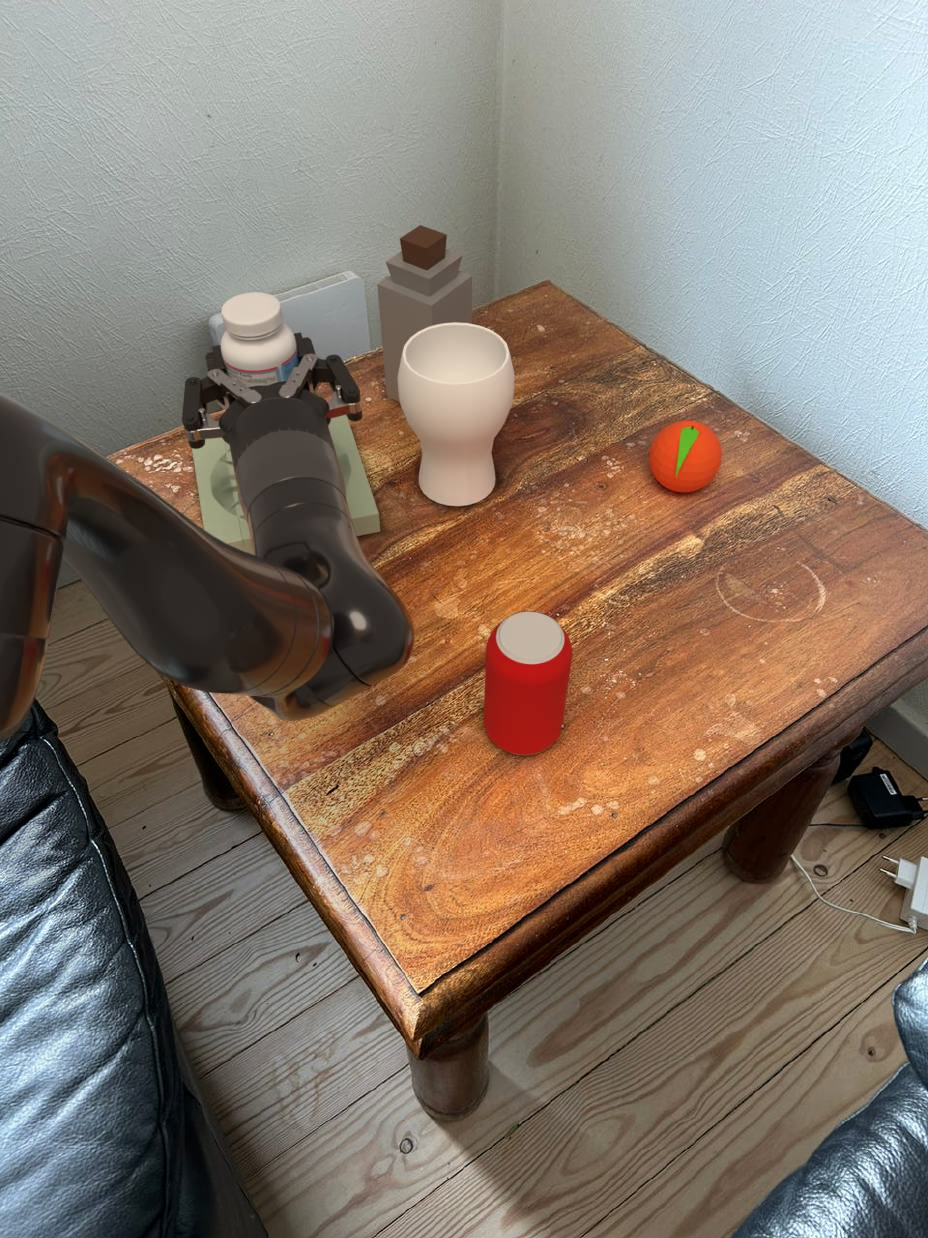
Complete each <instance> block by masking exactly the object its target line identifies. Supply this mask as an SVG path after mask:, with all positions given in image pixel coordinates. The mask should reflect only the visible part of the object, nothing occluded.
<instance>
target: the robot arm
mask: <svg viewBox="0 0 928 1238" xmlns="http://www.w3.org/2000/svg"><path fill="white" fill-rule="evenodd" d="M293 334H294V336H295V340H296V345H297V351H298V357H299V362H300V364H299V366H298V367H294V368H293V370H292V372H291V374H290V376H289V378H288V379H287V381H282V382H277V383H273V384H270V385H264V386H252V387H247V386H246V385H245V384H243V383H242V382H241V381H240V380H238V379H237V378H236V377H232V378H230V377H229V376H228V375H227V373H226V369H225V365H224V361H223V357H222V352H221V344H216V345H212V346H211V347H212V351H211V352H207V353H206V355H205V362H206V368H207V375H206V377H204V378H202V379H201V378H200V377H198V376H191V377H188V378H187V379H186V380H185V382H184V392H183V403H182V413H181V414H182V415H181V422H182V425H183V429H184V432H185V436H186V439H187V442H188V445H189V448H191V449H192V448H193V449H199V448H202V447H203V446H204V445H205V439H212V438H223V440H224V441H225V442H226V443H228V444H229V445H230V451H231V456H232V462H233V467H234V473H235V477H236V483H237V489H238V498H239V500H240V504H241V508H242V511H243V513H244V516H245V518H246V521H247V524H248V529H249V534H250V540H251V545H252V550H253V554H250V553H247V552H245V551H242V550H239V549H237V548H235V547H233V546H231V545H229V544H227V543H225V542H223V541H222V540H220V539H218V538H216V537H214V536H213V535H211V534H210V533H208V532H207V531H205V530H204V528H202V527H201V526H200V525H198V523H196V522H194V521H193V520H191V518H189V517H188V516H187V515H185V514H184V513H182V512H181V511H180V510H179V509H177V508H176V507H174V505H172V503H170V502H169V501H167V499H165V498H163V497H162V496H161V495H160V494H158V493H157V492H156V491H154V490H153V489H152V488H150V487H149V486H148V485H146V484H145V483H143V482H142V481H141V480H139V479H138V478H137V477H135V476H133V475H132V474H130V472H127V471H126V470H124V469H123V468H121V467H120V466H119V465H117V464H116V463H115V462H113V461H112V460H111V459H109V458H108V457H107V456H105V455H104V454H103V453H101V452H100V451H98V450H97V449H95V448H94V447H93V446H91V445H90V444H88V442H86V441H84V440H83V439H81V438H80V437H79V436H77V435H76V434H74V433H73V432H71V431H70V430H69V429H67V428H65V427H64V426H62V425H61V424H59V423H58V422H56V421H55V420H53V419H52V418H50V417H49V416H47V415H45V414H43V413H42V412H40V411H39V410H37V409H35V408H33V407H32V406H30V405H28V404H27V403H24V402H22V401H21V400H19V399H17V398H15V397H13V396H11V395H8V394H6V393H4V392H2V391H0V745H1V744H3V743H5V742H6V741H7V740H9V739H10V738H11V737H12V736H14V735H15V734H16V732H18V731H19V729H20V728H21V727H22V725H23V724H24V722H25V721H26V719H27V718H28V715H29V713H30V711H31V708H32V706H33V703H34V701H35V699H36V695H37V692H38V689H39V686H40V682H41V679H42V675H43V672H44V667H45V663H46V658H47V654H48V653H47V652H48V647H49V643H50V642H49V639H50V634H51V629H52V622H53V617H54V612H55V611H54V610H55V605H56V599H57V592H58V587H59V580H60V575H61V574H60V573H61V568H62V562H64V563H65V564H66V565H67V566H68V567H69V568H70V569H71V571H72V572H73V573H75V575H76V576H77V577H78V578H79V579H80V580H81V582H82V583H83V584H84V586H85V588H87V590H88V591H89V592H90V593H91V595H92V596H93V598H94V599H95V600H96V601H97V603H98V605H99V606H100V607H101V609H102V610H103V612H104V614H105V615H106V616H107V618H108V619H109V620H110V622H111V623H112V624H113V626H114V627H115V629H116V630H117V631H118V633H119V634H120V635H121V636H122V638H123V639H124V641H126V643H127V644H128V645H129V647H130V648H131V649H132V650H133V651H134V652H135V653H136V654H137V656H138V657H139V658H140V659H142V660H143V661H144V662H145V663H146V664H147V665H148V666H150V667H151V668H152V669H153V670H155V671H156V673H159V674H160V675H161V676H163V677H165V678H166V679H168V680H170V681H172V682H174V683H176V684H178V685H181V686H183V687H184V688H188V689H192V690H196V691H200V692H205V693H208V694H209V693H210V694H222V695H231V696H232V695H234V696H243V697H244V696H245V697H248V698H250V699H252V700H253V701H255V702H256V703H258V704H259V705H260V706H262V707H263V708H265V709H266V710H267V711H268V712H269V713H270V714H272V715H273V716H274V717H276V718H277V719H279V720H280V721H285V722H299V721H304V720H308V719H312V718H314V717H317V716H320V715H322V714H324V713H326V712H327V711H330V710H331V709H333V708H335V707H337V706H338V705H340V704H342V703H344V702H347V701H348V700H350V699H352V698H353V697H355V696H357V695H359V694H361V693H363V692H364V691H366V690H368V689H370V688H372V687H373V686H376V685H377V684H379V683H381V682H384V681H385V680H387V679H389V678H390V677H392V676H394V675H396V674H397V673H399V672H400V671H401V670H402V669H403V668H404V667H405V666H406V665H407V663H409V660H410V659H411V656H412V653H413V650H414V646H415V637H416V634H415V633H416V632H415V627H414V622H413V618H412V615H411V614H410V612H409V610H408V608H407V607H406V605H405V604H404V602H403V601H402V600H401V598H400V596H399V595H398V594H397V593H396V591H395V590H394V589H393V587H391V585H390V584H389V583H388V582H387V580H386V579H385V578H384V577H383V576H382V575H381V574H380V573H379V571H378V570H377V568H376V567H375V566H374V565H373V563H372V561H371V560H370V559H369V558H370V557H368V555H367V554H366V552H365V550H364V548H363V546H362V545H361V542H360V540H359V538H358V536H357V535H356V532H355V529H354V526H353V522H352V519H351V516H350V512H349V509H348V505H347V499H346V488H345V482H344V478H343V475H342V471H341V468H340V465H339V461H338V458H337V454H336V451H335V448H334V444H333V441H332V438H331V434H330V431H329V428H328V426H329V424H330V422H331V418H335V417H339V416H343V415H346V416H347V418H348V421H351V422H359V421H361V420H362V419H363V417H364V415H363V414H364V413H363V404H362V397H361V390H360V388H359V386H358V384H357V382H356V381H355V379H354V377H353V376H352V374H351V373H350V371H349V369H348V367H347V365H346V364H345V363H344V361H343V359H342V358H341V356H340V355H339V354H329V355H327V356H326V357H325V359H323V358H320V357H318V355H317V354H316V350H315V347H314V344H313V341H312V339H311V338H310V337H309V336H306V337H303V335H302V332H301V331H300V332H293ZM321 384H328V385H329V388H330V389H331V391H332V393H331V400H329V401H327V400H326V399H325V398H324V397H321V396H320V395H318V394H317V393H318V391H319V388H320V387H321ZM212 402H215V403H216V404H218V406H220V408H222V409H223V410H224V412H223V413H222V414H221V415H220V417H219V419H218V420H215V419H213V418H212V417H213V416H212V415H211V414H210V413H208V404H210V403H212Z"/></svg>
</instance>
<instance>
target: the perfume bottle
mask: <svg viewBox="0 0 928 1238" xmlns="http://www.w3.org/2000/svg"><path fill="white" fill-rule="evenodd" d="M447 237H448V234H446V233H445V232H444V233H443V232H441V231H438V230H436V229H433V228H430V227H427V226H424V225H422V224H420V225H417V227H415V228H413V229H412V230H410V231H409V232H407V233H406V234H404V235H403V236H401V237H399V243H400V250H401V251H399V252H398V253H396V254H395V255H393V256H392V257H391V258H388V260H386V261H385V265H386V268H387V270H388V273H389V275H388V276H387V277H385V278H384V279H382V280H381V281H379V282H378V283H376V284H377V297H378V309H379V319H380V333H381V334H380V335H381V345H382V359H383V368H384V369H383V373H384V382H385V395H386V397H387V398H390V399H391V400H394V401H395V402H398V403H400V400H399V393H398V379H397V377H398V372H399V367H400V362H401V357H402V352H403V348H404V345H405V344H406V343H407V341H408V340H409V339H410V337H412V336H413V335H414V334H416V333H417V332H419V331H421V330H423V329H425V328H427V327H430V326H434V325H438V324H443V323H454V322H456V323H470V324H473V275H472V274H469V273H466V272H464V271H462V270H460V266H461V262H462V259H463V255H462V254H460V253H458V252H455V251H452V250H449V249H447V239H448V238H447Z"/></svg>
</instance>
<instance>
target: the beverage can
mask: <svg viewBox="0 0 928 1238" xmlns="http://www.w3.org/2000/svg"><path fill="white" fill-rule="evenodd" d="M572 662H573V645H572V642H571V639H570V637H569V634H568V633H567V632H566V630H565V629H564V628H563V626H561V625H560V623H559V622H558V621H557V620H556V619H554V618H553V617H551V616H550V615H548V614H546V613H543V612H539V611H534V610H526V611H519V612H515V613H513V614H511V615H509V616H507V617H506V618H504V619H503V620H502V621H501V622H499V623H498V624H497V625H496V626H495V627H494V628H493V629H492V631H491V632H490V634H489V636H488V638H487V641H486V645H485V663H484V664H485V665H484V667H485V668H484V703H483V725H484V730H485V733H486V734H487V736H488V738H489V739H490V740H491V742H493V744H494V745H496V746H497V747H498V748H500V749H501V750H504V751H505V752H507V753H510V754H512V755H518V756H532V755H537V754H540V753H542V752H545V751H547V750H548V749H549V748H551V747H552V746H553V745H554V744H555V743H556V742H557V740H558V738H559V737H560V734H561V733H562V728H563V723H564V715H565V709H566V701H567V695H568V688H569V681H570V675H571V669H572Z"/></svg>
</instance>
